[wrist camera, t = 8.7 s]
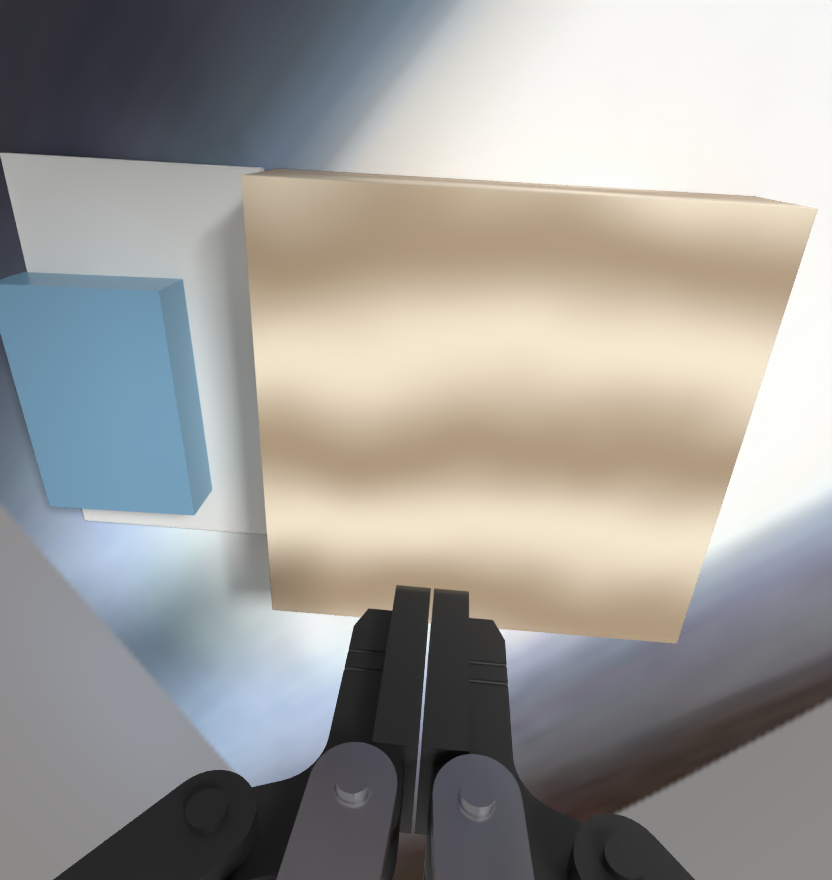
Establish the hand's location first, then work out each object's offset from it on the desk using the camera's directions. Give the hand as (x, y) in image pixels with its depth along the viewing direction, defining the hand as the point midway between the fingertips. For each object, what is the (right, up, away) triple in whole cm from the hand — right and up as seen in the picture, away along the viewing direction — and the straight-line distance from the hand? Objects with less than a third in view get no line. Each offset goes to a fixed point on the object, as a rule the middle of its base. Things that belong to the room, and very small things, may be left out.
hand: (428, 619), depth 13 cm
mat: (-10, +7, +12) cm, 17 cm away
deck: (+3, +5, +11) cm, 13 cm away
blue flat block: (-12, +5, +10) cm, 16 cm away
